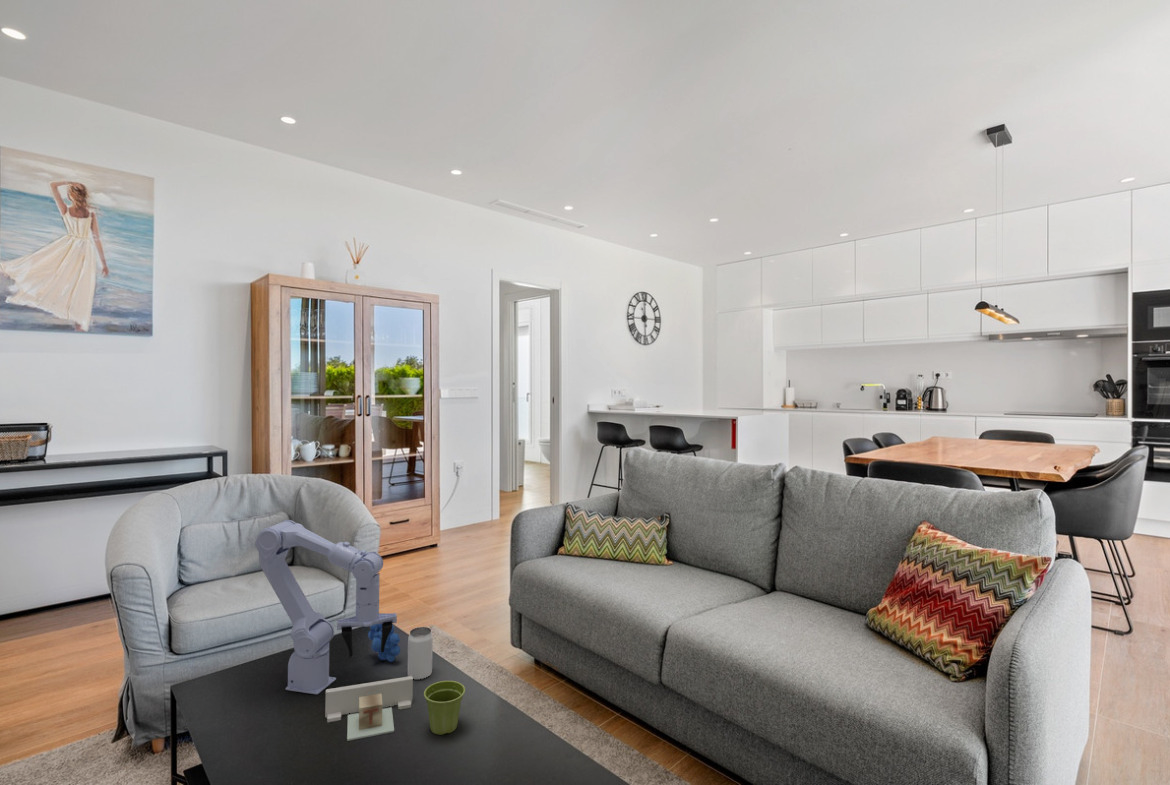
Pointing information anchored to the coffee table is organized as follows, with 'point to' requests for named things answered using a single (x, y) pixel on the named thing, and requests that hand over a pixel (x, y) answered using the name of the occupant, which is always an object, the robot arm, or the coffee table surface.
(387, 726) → the sage mat
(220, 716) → the coffee table surface
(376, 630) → the grapes
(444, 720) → the plant pot
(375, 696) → the maple cube
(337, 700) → the grey screen
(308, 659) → the robot arm
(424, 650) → the can
